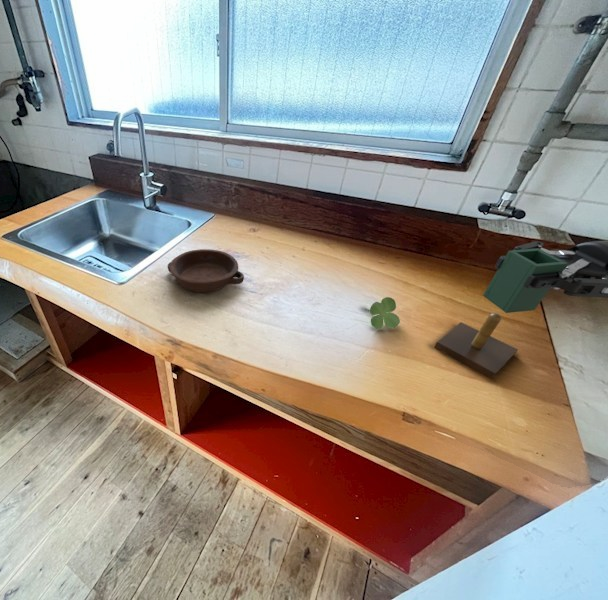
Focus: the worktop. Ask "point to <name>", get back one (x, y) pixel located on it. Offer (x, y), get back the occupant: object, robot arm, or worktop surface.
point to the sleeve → (521, 279)
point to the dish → (205, 270)
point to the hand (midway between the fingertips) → (513, 272)
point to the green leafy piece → (384, 314)
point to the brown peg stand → (477, 346)
